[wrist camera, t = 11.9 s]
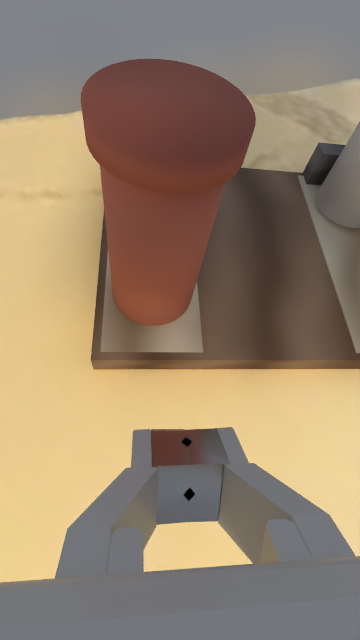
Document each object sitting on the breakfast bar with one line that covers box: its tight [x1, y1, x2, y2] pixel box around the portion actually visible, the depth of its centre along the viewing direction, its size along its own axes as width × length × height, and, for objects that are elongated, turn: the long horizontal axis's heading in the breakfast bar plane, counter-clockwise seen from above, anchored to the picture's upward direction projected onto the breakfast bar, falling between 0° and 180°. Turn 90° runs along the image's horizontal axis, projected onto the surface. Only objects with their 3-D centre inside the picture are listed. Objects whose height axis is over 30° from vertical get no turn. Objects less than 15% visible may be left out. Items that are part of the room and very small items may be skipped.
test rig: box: [91, 143, 360, 369], centre depth 24 cm, size 23×18×4 cm
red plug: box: [81, 59, 256, 326], centre depth 16 cm, size 6×6×11 cm
